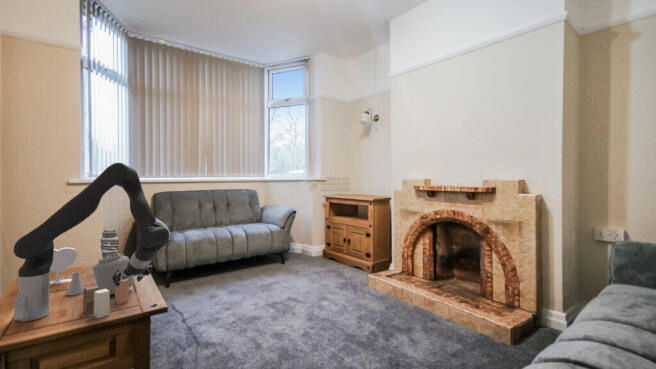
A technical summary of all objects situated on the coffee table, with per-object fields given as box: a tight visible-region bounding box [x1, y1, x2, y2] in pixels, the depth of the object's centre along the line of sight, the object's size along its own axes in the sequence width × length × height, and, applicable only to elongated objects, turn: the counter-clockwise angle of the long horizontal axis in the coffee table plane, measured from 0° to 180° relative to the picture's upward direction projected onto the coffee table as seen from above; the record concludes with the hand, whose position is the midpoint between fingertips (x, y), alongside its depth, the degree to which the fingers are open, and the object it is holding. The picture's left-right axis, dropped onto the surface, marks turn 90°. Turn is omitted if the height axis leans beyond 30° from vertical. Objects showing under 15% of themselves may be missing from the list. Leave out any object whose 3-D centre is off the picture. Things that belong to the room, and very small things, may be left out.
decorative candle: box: [100, 228, 120, 258], centre depth 188 cm, size 9×9×25 cm
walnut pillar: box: [82, 285, 99, 315], centre depth 129 cm, size 4×4×10 cm
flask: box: [64, 271, 85, 296], centre depth 149 cm, size 7×7×10 cm
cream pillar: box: [93, 289, 111, 319], centre depth 126 cm, size 4×4×10 cm
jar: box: [92, 244, 135, 296], centre depth 151 cm, size 19×15×25 cm
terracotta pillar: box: [114, 279, 130, 305], centre depth 140 cm, size 4×4×10 cm
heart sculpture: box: [50, 246, 78, 285], centre depth 164 cm, size 16×5×18 cm, turn 134°
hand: (127, 282), depth 136 cm, fingers open, 8 cm apart
